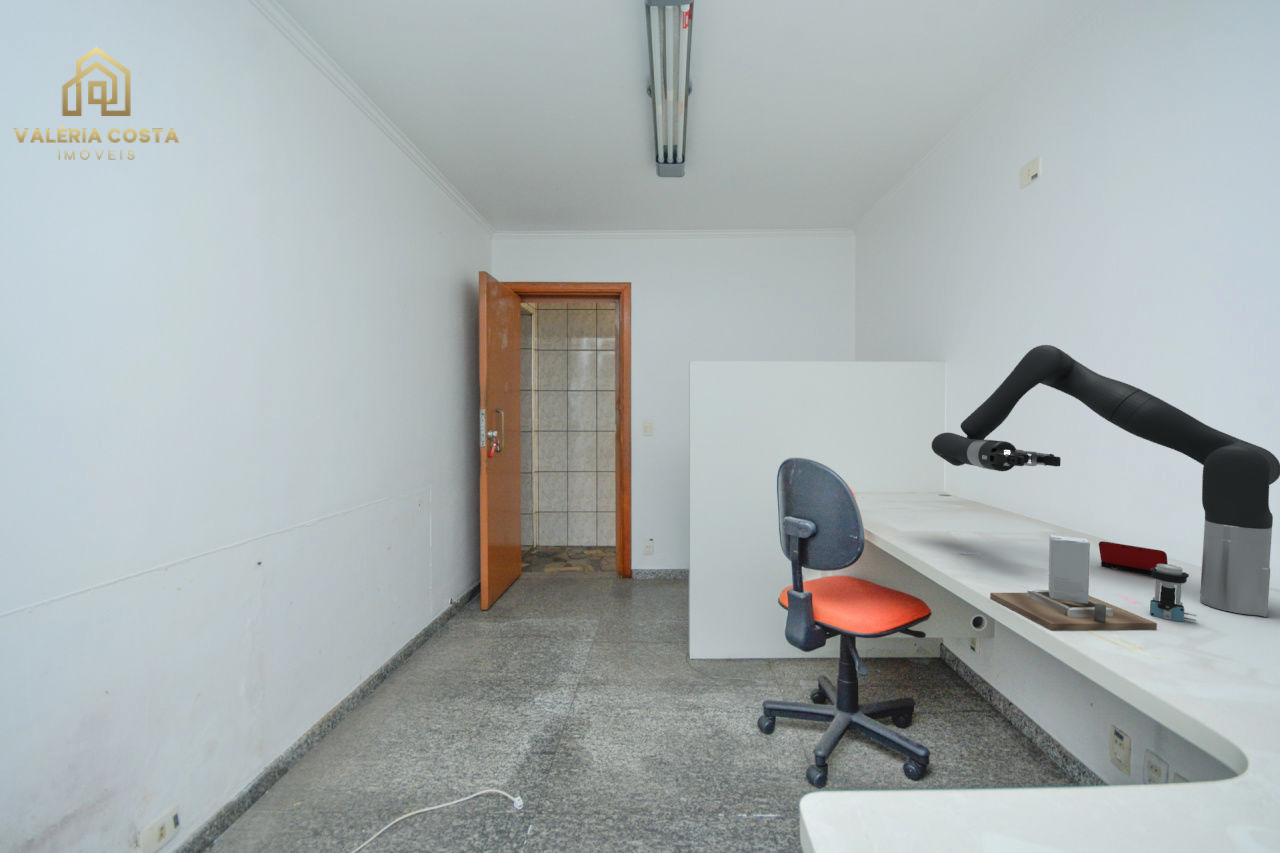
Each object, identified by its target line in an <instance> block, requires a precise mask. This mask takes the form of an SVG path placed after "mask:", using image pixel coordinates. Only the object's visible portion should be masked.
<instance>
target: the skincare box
mask: <svg viewBox="0 0 1280 853" xmlns="http://www.w3.org/2000/svg"><path fill="white" fill-rule="evenodd" d="M1048 538H1049V541H1048V542H1049V544H1048V545H1049V546H1048V547H1049V548H1048V549H1049V550H1048V555H1049V557H1048V589H1047V590H1048V591H1049V595H1050V598H1052V599H1058V600H1065V601H1071V602H1077V603H1084V604H1088V595H1089V594H1090V593H1089V591H1090V590H1089V588H1090V587H1089V586H1090V560H1091V558H1090V557H1091V556H1090V551H1091V550H1090V549H1091V543H1090V541H1089V540H1088V539H1087V538H1082V537H1074V536H1066V535H1065V536H1064V535H1057V534H1056V535H1055V534H1050V535H1049V537H1048Z"/></svg>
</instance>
